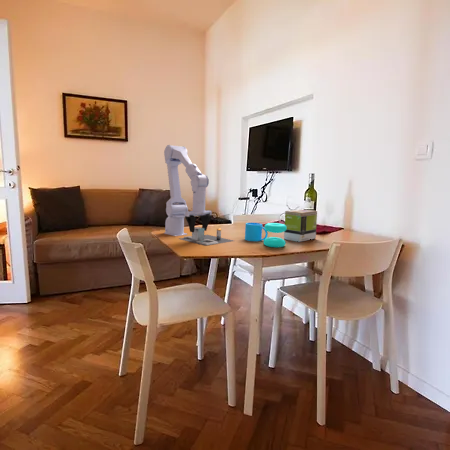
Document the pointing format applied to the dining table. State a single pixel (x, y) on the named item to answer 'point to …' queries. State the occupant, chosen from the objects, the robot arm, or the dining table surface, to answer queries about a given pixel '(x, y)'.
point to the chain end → (200, 237)
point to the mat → (209, 239)
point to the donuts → (275, 240)
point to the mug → (254, 232)
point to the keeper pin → (218, 234)
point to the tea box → (300, 225)
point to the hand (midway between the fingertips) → (198, 231)
